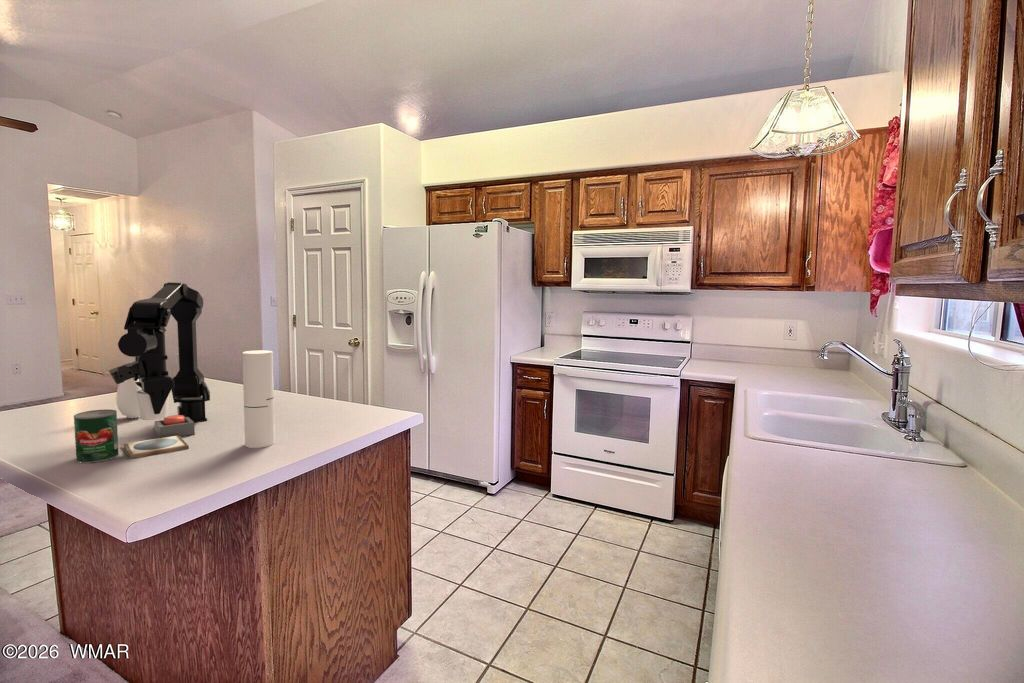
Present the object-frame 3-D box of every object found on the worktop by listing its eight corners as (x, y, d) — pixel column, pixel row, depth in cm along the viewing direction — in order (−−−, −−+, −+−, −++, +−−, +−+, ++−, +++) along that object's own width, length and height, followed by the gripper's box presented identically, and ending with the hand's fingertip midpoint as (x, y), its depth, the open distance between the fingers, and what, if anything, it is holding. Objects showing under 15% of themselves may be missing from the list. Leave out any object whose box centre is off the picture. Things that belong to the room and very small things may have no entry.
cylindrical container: (280, 441, 134) (278, 351, 131) (259, 449, 127) (257, 354, 124) (260, 438, 136) (258, 349, 133) (238, 445, 129) (236, 352, 127)
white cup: (157, 421, 122) (156, 393, 121) (130, 420, 122) (129, 392, 121) (177, 414, 129) (176, 388, 128) (151, 413, 129) (150, 387, 128)
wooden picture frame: (178, 437, 134) (178, 434, 134) (188, 448, 126) (188, 444, 126) (123, 446, 126) (123, 442, 126) (130, 458, 117) (130, 454, 117)
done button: (182, 421, 141) (182, 414, 141) (186, 424, 138) (186, 417, 137) (162, 423, 138) (162, 416, 137) (165, 427, 134) (165, 420, 134)
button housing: (188, 428, 144) (187, 416, 143) (194, 434, 138) (194, 422, 138) (154, 433, 138) (154, 421, 138) (160, 439, 132) (159, 427, 132)
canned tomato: (83, 466, 112) (80, 419, 111) (70, 459, 116) (67, 413, 115) (124, 456, 119) (122, 412, 118) (111, 450, 123) (109, 407, 122)
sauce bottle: (136, 421, 149) (133, 363, 147) (111, 420, 149) (107, 362, 147) (155, 415, 157) (152, 359, 155) (131, 414, 157) (128, 359, 155)
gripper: (106, 349, 124) (109, 409, 126) (115, 358, 111) (119, 424, 113) (159, 346, 132) (162, 403, 134) (174, 354, 119) (176, 417, 121)
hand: (154, 411), depth 125 cm, fingers closed on white cup, 6 cm apart
